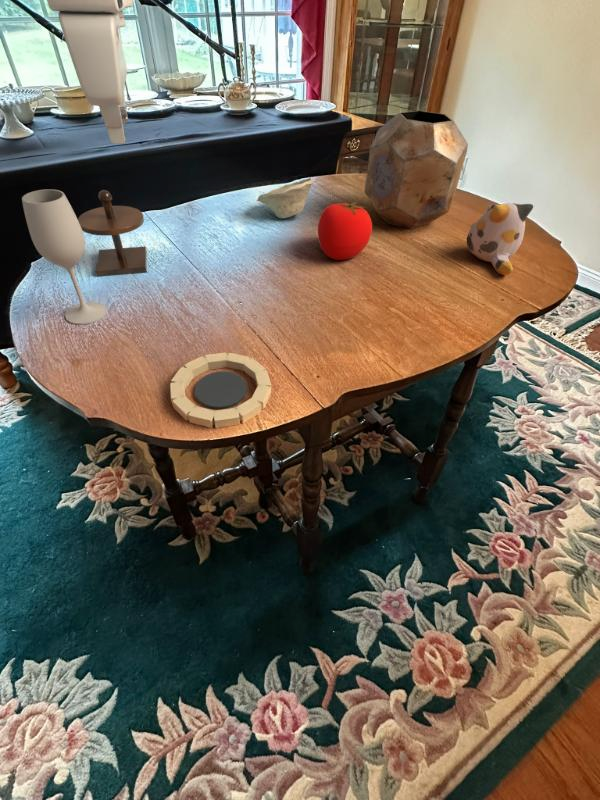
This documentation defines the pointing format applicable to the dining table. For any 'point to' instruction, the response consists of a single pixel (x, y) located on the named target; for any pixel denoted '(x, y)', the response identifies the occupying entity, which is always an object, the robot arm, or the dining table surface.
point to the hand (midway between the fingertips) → (120, 132)
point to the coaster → (220, 390)
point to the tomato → (344, 230)
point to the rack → (115, 237)
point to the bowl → (287, 198)
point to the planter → (415, 168)
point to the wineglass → (60, 243)
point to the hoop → (226, 415)
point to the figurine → (499, 234)
